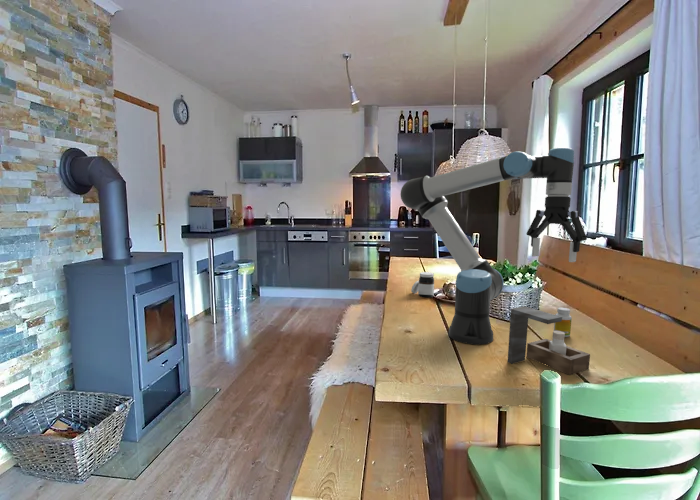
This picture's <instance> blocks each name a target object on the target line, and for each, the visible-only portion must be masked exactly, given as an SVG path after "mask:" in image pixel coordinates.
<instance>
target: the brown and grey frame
mask: <svg viewBox="0 0 700 500" xmlns="http://www.w3.org/2000/svg"><path fill="white" fill-rule="evenodd" d="M509 317H510V318H509V319H510V321H509V335H508V346H507V347H508V348H507V350H508V351H507V360H506V361H507V363H508V364H510V363H511V365H513V363H514V364H517V363H521V362H524V361H526V358H527V359H530V360H532V361H534V362H537V363H539V362H540V363H539V364H542V363H543V364H542V365H544V364H546V365H548V366H547V367H549V366H550V367H549V368H551V369H553V370H556V371H559V372H561V373H564V374H566V375H567V376H571V375H574V374H577V373H581V372H583V371H587V370H589V369H590V360H591V354H590V353H587V352H585V351H582V350H580V349H576V348H574V347H571V346H568V345H566V346H567V347H566V356H565V355H563V354H560V353H557V352H555V351H552V350H549V342H550V341H552V339H548V338H544V339H540V340H537V341H536V340H534V341H531V342H527V338H528V327H529V326H528V324H529V319H530V320H533V321H536V322H540V323H543V324H546V325H551V324H554V323H556V322H560V321H562V317H560V316H557V315H555V314H553V313H549V312H545V311H542V310H540V309H536V308H532V307H529V306H518V307H513V308H510V316H509ZM546 365H545V366H546Z"/></svg>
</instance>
